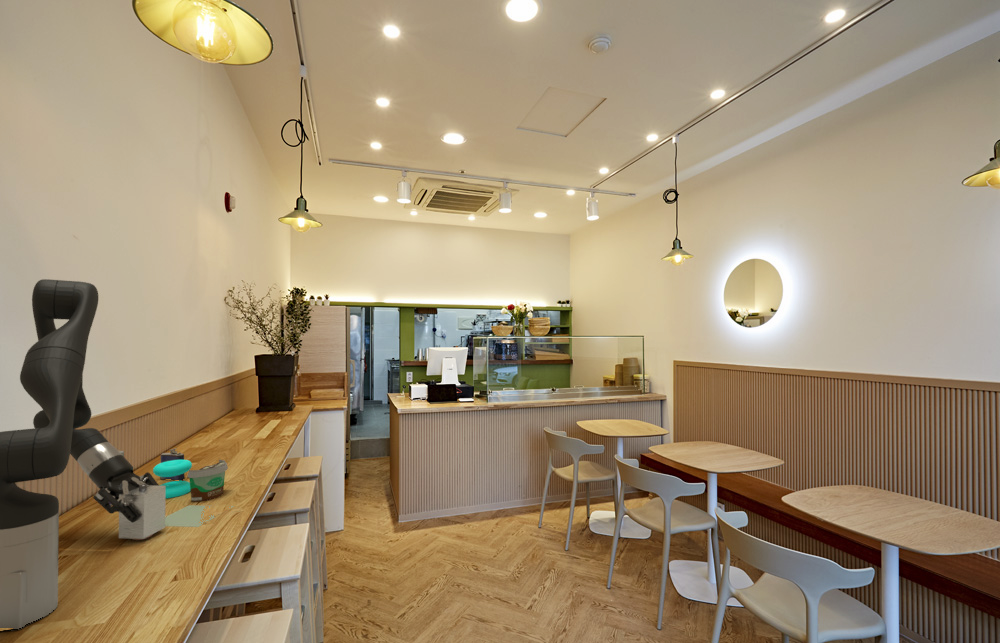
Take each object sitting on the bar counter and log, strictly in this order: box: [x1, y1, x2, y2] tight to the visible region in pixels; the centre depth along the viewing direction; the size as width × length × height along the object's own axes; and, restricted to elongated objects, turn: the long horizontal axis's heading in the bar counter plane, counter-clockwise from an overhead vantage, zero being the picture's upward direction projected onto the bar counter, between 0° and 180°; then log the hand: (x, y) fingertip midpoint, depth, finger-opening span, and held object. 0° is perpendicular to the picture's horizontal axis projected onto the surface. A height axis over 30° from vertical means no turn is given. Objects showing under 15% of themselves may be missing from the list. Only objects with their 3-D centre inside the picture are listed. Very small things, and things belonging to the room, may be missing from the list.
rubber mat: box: [165, 504, 235, 528], centre depth 126 cm, size 14×14×1 cm
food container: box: [187, 459, 229, 503], centre depth 140 cm, size 12×6×10 cm, turn 168°
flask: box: [159, 447, 185, 481], centre depth 159 cm, size 9×3×11 cm, turn 76°
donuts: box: [152, 459, 193, 500], centre depth 144 cm, size 10×10×10 cm
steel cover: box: [118, 484, 166, 540], centre depth 113 cm, size 6×6×12 cm
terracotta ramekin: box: [132, 534, 154, 541], centre depth 113 cm, size 4×4×4 cm
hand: (149, 513), depth 113 cm, fingers closed on steel cover, 6 cm apart
